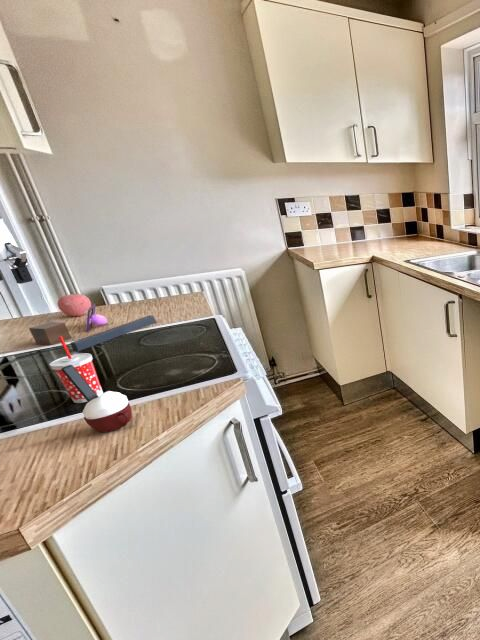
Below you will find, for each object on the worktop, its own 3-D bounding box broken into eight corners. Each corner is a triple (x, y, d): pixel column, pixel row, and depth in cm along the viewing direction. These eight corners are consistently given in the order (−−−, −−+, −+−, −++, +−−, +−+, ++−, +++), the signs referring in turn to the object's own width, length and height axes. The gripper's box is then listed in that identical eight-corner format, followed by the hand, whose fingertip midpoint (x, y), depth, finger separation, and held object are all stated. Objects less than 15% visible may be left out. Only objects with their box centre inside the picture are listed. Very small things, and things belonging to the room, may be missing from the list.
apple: (101, 312, 141) (91, 289, 138) (76, 320, 135) (66, 296, 131) (83, 311, 142) (73, 288, 139) (58, 319, 136) (47, 295, 133)
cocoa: (142, 426, 78) (118, 368, 73) (97, 443, 73) (68, 382, 69) (128, 410, 83) (104, 355, 79) (85, 425, 79) (57, 367, 74)
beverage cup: (77, 394, 90) (48, 333, 84) (113, 388, 92) (87, 328, 86) (62, 408, 84) (29, 344, 79) (100, 402, 86) (71, 339, 81)
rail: (73, 351, 111) (69, 342, 110) (152, 322, 131) (149, 315, 130) (78, 351, 111) (74, 343, 110) (156, 323, 131) (153, 315, 130)
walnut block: (36, 344, 116) (28, 328, 114) (57, 338, 120) (50, 321, 118) (51, 345, 115) (43, 328, 113) (72, 338, 119) (64, 322, 118)
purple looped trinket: (90, 302, 129) (84, 310, 122) (113, 305, 132) (108, 312, 125) (88, 323, 130) (82, 332, 123) (111, 325, 133) (107, 333, 127)
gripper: (-70, 217, 105) (-34, 284, 111) (-13, 218, 102) (20, 286, 109) (-30, 214, 111) (1, 277, 118) (24, 214, 109) (53, 279, 116)
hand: (10, 281), depth 113 cm, fingers open, 9 cm apart
